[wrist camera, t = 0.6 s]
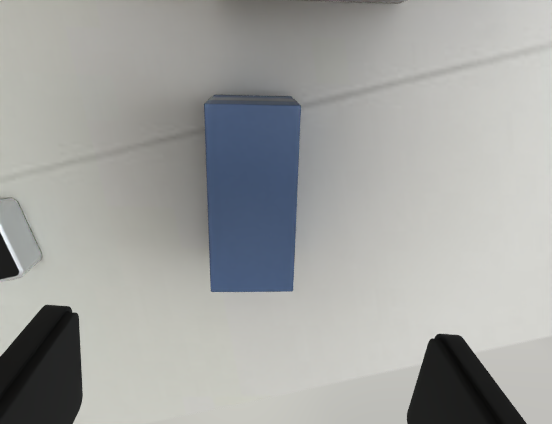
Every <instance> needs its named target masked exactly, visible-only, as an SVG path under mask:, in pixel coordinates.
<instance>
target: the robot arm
mask: <svg viewBox="0 0 552 424" xmlns="http://www.w3.org/2000/svg"><path fill="white" fill-rule="evenodd" d="M81 402H82V373H81V353H80V333H79V316H78V314H77V313H72V309H71V307H69V306H55V305H45V306H44V307H42V309H41V310H40V311H39V312H38V313H37V314H36V316H35V317H34V318H33V319H32V320H31V322H30V323H29V324H28V325H27V326H26V327H25V329H24V330H23V331H22V332H21V333H20V334H19V336H18V337H17V338H16V339H15V340H14V341H13V343H12V344H11V345H10V346H9V347H8V349H7V350H6V351H5V352H4V353H3V354H2V356H1V357H0V424H73V422H74V420H75V418H76V416H77V414H78V411H79V409H80V406H81ZM407 423H408V424H526V422H525V421H524V420H523V418H522V417H521V415H520V414H519V413H518V412H517V410H516V409H515V407H514V406H513V405H512V403H511V402H510V401H509V399H508V398H507V397H506V395H505V394H504V393H503V392H502V390H501V389H500V388H499V386H498V385H497V383H496V382H495V381H494V380H493V378H492V377H491V375H490V374H489V373H488V371H487V370H486V369H485V368H484V366H483V365H482V363H481V362H480V361H479V359H478V358H477V357H476V355H475V354H474V353H473V351H472V350H471V349H470V347H469V346H468V345H467V343H466V342H465V340H464V339H463V338H462V337H461V336H459V335H449V334H437V335H436V336H435V339H431V340H430V341H429V343H428V346H427V349H426V353H425V356H424V359H423V363H422V366H421V369H420V373H419V376H418V380H417V383H416V386H415V389H414V393H413V396H412V399H411V403H410V406H409V409H408V413H407Z"/></svg>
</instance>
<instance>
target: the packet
mask: <svg viewBox="0 0 552 424" xmlns="http://www.w3.org/2000/svg"><path fill="white" fill-rule="evenodd" d="M300 115H301V106H300V105H299V104H298V103H297V101H296V100H295V99H293V98H292V97H291V96H243V95H214V96H213V97H211V98H210V99H209V100H208V101H207V102H206V103H205V104H204V116H205V144H206V171H207V198H208V226H209V253H210V281H211V292H280V291H293V280H294V256H295V233H296V209H297V185H298V162H299V138H300Z"/></svg>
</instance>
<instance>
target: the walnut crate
mask: <svg viewBox="0 0 552 424" xmlns="http://www.w3.org/2000/svg"><path fill="white" fill-rule="evenodd" d="M310 1H341V2H372V3H401V2H404V1H406V0H310Z"/></svg>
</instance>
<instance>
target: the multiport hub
mask: <svg viewBox="0 0 552 424" xmlns="http://www.w3.org/2000/svg"><path fill="white" fill-rule="evenodd" d="M41 258H42V254H41V252H40V249H39V247H38V245H37V243H36V241H35V239H34V236H33V234H32V232H31V230H30V228H29V226H28V223H27V221H26V219H25V217H24V215H23V213H22V210H21V208H20V206H19V204H18V202H17V201H16V200H15V199H12V198H6V199H1V200H0V282H3V281H8V280H13V279H17V278H21V277H22V276H23V275H24V274H25V273H27V272H28V271H29V270H30V269H31V268H32V267H33V266H34V265H35V264H36V263H37V262H38V261H39V260H40V259H41Z"/></svg>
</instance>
